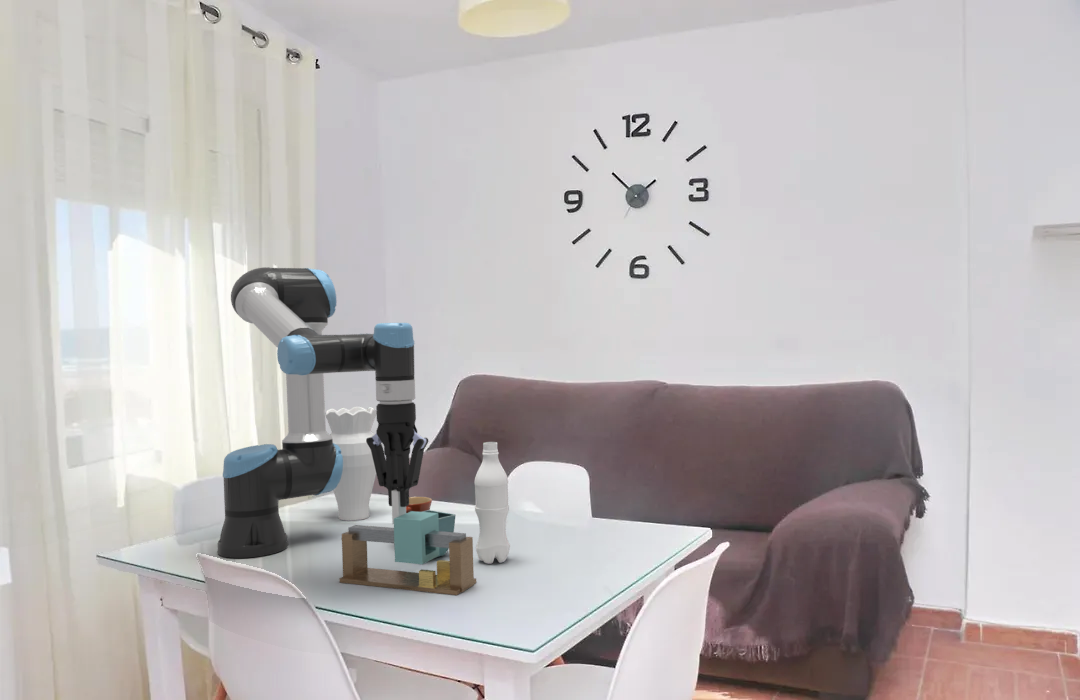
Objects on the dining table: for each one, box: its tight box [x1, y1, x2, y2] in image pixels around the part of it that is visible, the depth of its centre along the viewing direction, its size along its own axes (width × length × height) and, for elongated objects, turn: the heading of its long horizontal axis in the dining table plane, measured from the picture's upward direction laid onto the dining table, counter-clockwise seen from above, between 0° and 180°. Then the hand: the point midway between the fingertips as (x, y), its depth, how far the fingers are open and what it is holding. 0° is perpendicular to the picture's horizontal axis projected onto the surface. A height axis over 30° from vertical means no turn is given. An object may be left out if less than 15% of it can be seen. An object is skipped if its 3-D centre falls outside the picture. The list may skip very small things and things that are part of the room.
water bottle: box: [473, 441, 511, 565], centre depth 174 cm, size 7×7×25 cm
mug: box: [406, 496, 433, 513], centre depth 188 cm, size 12×9×10 cm
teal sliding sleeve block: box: [393, 511, 439, 565], centre depth 159 cm, size 6×7×8 cm
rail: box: [338, 524, 477, 596], centre depth 160 cm, size 26×8×10 cm, turn 68°
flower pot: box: [423, 509, 456, 559], centre depth 179 cm, size 9×9×9 cm
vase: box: [325, 406, 377, 522], centre depth 220 cm, size 15×15×29 cm
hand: (399, 522), depth 161 cm, fingers closed
